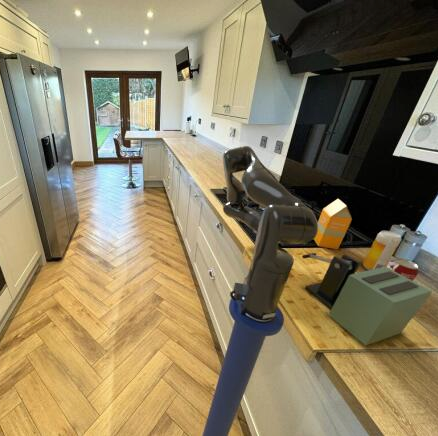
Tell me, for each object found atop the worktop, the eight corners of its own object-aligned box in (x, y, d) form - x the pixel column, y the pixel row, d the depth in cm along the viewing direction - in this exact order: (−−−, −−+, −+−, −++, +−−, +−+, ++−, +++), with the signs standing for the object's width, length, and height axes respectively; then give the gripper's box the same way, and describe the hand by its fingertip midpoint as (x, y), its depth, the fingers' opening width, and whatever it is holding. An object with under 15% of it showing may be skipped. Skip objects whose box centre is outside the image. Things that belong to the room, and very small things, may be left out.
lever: (302, 259, 80) (302, 252, 80) (313, 257, 81) (313, 250, 81) (343, 271, 68) (343, 262, 67) (355, 268, 69) (355, 260, 69)
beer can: (375, 264, 92) (394, 231, 86) (386, 274, 87) (407, 239, 80) (358, 262, 93) (375, 229, 87) (368, 271, 88) (387, 237, 81)
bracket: (304, 288, 78) (320, 251, 72) (322, 284, 81) (339, 248, 74) (334, 311, 70) (355, 272, 63) (353, 306, 72) (375, 267, 66)
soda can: (407, 299, 76) (428, 269, 70) (388, 299, 75) (407, 269, 70) (386, 284, 82) (404, 256, 76) (368, 285, 81) (385, 256, 76)
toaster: (328, 315, 69) (349, 274, 62) (361, 305, 72) (385, 265, 66) (365, 345, 60) (395, 301, 53) (401, 333, 64) (433, 290, 57)
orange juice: (317, 246, 103) (335, 204, 94) (311, 236, 111) (327, 196, 102) (338, 249, 101) (358, 207, 92) (330, 239, 109) (348, 199, 100)
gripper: (245, 215, 98) (274, 234, 84) (272, 212, 102) (304, 230, 88) (241, 231, 102) (268, 252, 88) (268, 227, 106) (298, 247, 92)
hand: (286, 241), depth 88 cm, fingers open, 8 cm apart
